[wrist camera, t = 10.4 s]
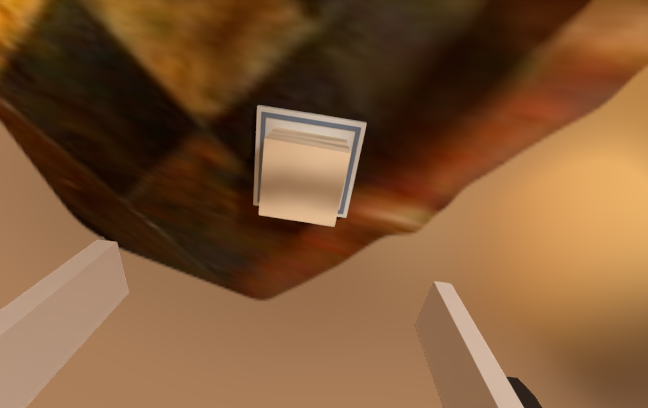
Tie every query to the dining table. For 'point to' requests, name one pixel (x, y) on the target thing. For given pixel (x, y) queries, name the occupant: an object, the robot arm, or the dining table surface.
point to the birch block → (303, 176)
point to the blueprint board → (311, 124)
